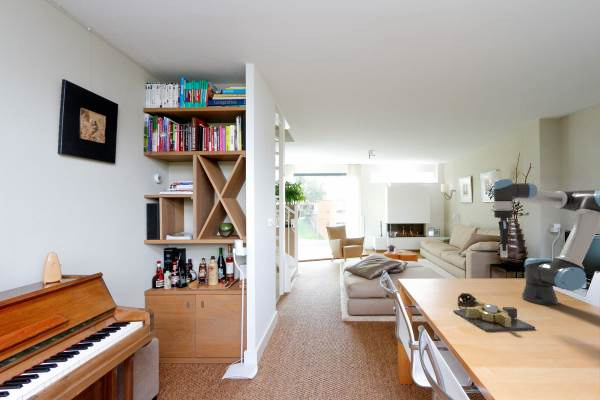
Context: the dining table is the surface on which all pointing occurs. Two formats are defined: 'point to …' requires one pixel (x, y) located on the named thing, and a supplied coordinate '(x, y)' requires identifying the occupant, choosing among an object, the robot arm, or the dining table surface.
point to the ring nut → (500, 317)
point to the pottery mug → (466, 300)
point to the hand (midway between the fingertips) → (504, 257)
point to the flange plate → (495, 326)
